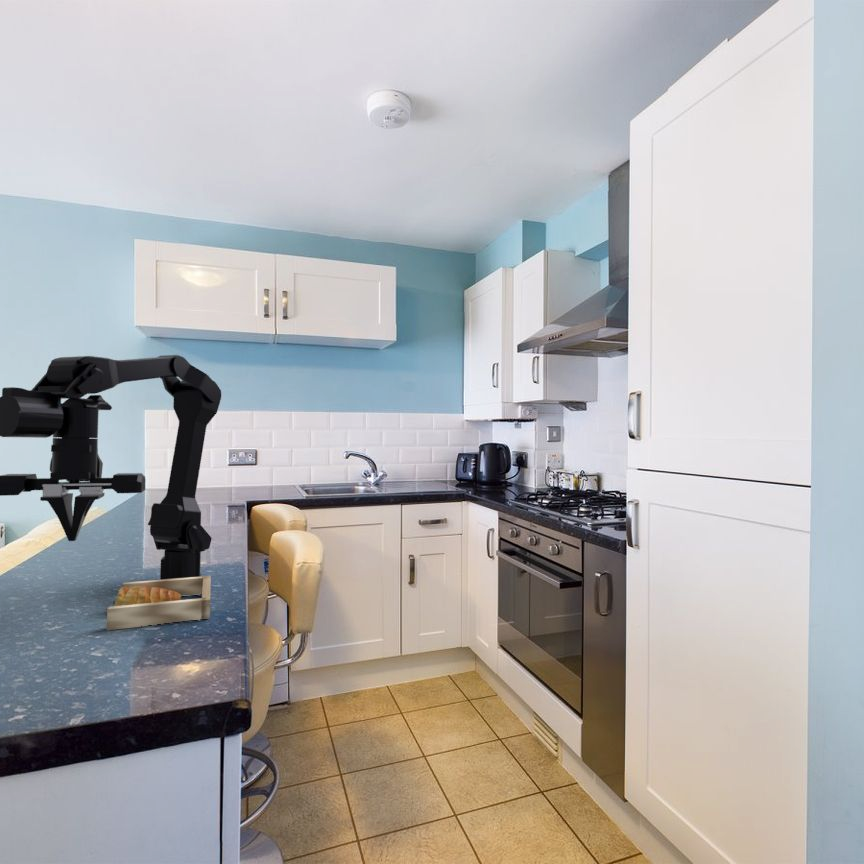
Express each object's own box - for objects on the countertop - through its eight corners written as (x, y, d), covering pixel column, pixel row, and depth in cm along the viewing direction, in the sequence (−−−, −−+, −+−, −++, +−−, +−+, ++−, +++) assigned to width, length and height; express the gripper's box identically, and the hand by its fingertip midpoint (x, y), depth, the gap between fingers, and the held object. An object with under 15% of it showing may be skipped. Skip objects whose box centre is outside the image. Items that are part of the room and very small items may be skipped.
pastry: (182, 601, 90) (183, 578, 90) (177, 613, 83) (178, 589, 83) (120, 605, 87) (120, 582, 87) (110, 619, 80) (110, 594, 80)
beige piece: (210, 592, 94) (210, 575, 94) (209, 619, 80) (210, 599, 80) (123, 600, 89) (123, 582, 89) (106, 630, 75) (107, 609, 75)
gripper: (150, 439, 91) (147, 529, 91) (19, 437, 84) (15, 534, 84) (142, 439, 81) (139, 540, 81) (-9, 437, 74) (-12, 548, 73)
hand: (72, 540), depth 80 cm, fingers closed
